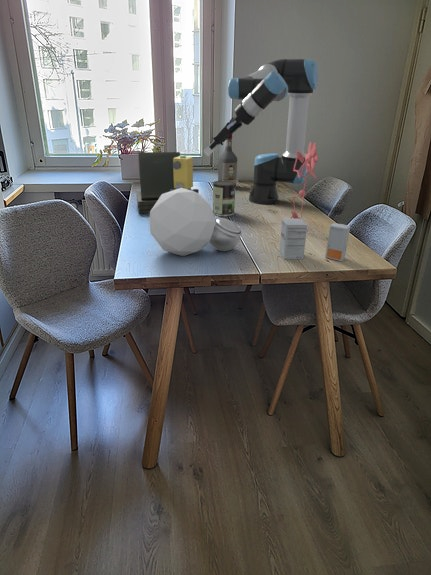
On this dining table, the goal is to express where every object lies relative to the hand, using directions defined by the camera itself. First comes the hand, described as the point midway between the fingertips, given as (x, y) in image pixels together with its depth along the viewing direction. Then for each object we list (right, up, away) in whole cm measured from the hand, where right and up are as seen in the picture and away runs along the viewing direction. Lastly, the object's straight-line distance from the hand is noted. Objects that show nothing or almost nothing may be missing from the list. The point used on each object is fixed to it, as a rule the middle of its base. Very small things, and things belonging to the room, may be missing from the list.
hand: (206, 153), depth 170 cm
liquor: (+10, +5, +78) cm, 79 cm away
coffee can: (+7, -19, +30) cm, 36 cm away
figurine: (+42, -28, +13) cm, 52 cm away
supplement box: (+31, -42, -16) cm, 54 cm away
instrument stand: (-10, -25, +16) cm, 31 cm away
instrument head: (-10, -12, +10) cm, 19 cm away
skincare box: (+46, -43, -18) cm, 65 cm away
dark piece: (-22, -15, +36) cm, 45 cm away
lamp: (-3, -40, -15) cm, 43 cm away
